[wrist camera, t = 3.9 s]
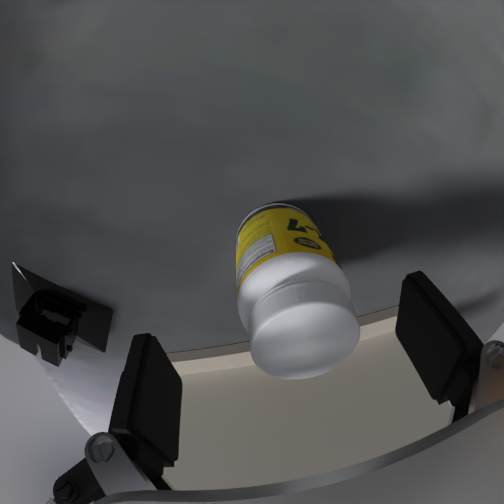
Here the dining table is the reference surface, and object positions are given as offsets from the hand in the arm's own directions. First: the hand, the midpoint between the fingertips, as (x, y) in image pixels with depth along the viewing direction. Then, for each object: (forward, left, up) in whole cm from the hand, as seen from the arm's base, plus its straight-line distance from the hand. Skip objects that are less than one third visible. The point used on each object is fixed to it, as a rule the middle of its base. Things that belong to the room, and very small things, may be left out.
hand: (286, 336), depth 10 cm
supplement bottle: (-1, 0, -8) cm, 8 cm away
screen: (0, +10, -8) cm, 13 cm away
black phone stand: (+17, +2, -9) cm, 19 cm away
